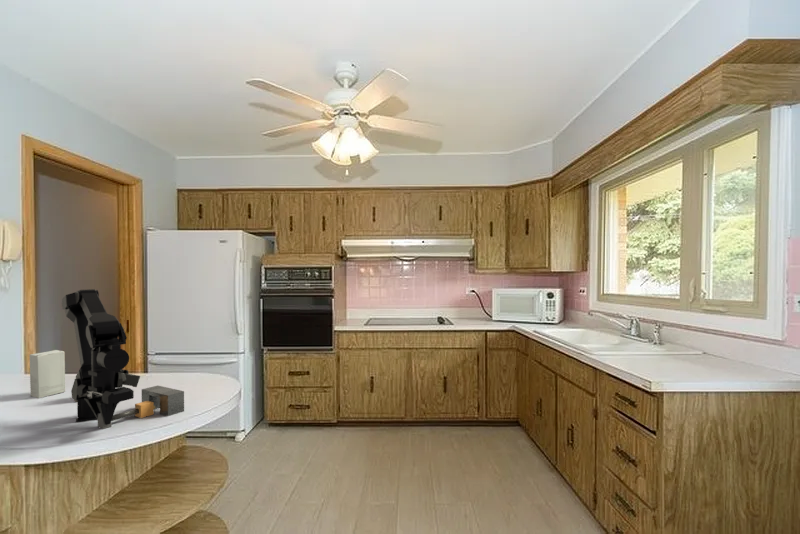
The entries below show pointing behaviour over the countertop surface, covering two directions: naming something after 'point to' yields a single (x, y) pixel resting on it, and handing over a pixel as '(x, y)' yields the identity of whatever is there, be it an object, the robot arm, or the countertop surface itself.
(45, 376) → the skincare box
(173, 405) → the gray bridge-shaped block
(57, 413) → the countertop surface
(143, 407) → the plug
